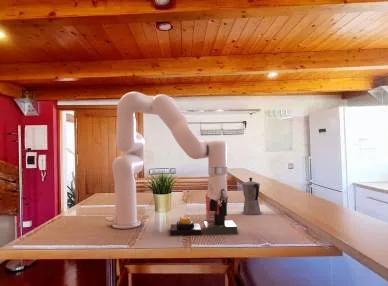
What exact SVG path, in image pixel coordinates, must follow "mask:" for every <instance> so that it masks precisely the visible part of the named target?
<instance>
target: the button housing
mask: <svg viewBox="0 0 388 286" xmlns="http://www.w3.org/2000/svg"><path fill="white" fill-rule="evenodd" d="M169 231H170V232H169V233H170V235H169V236H171V237H175V236H176V237H177V236H179V237H180V236H201V235H202V227H201V225H200V223H195V222H194V221H193V220H190V223H188V224H181V223H180V220H179V221H176V223H172V224H170V228H169Z"/></svg>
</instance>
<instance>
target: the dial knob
mask: <svg viewBox="0 0 388 286" xmlns="http://www.w3.org/2000/svg"><path fill="white" fill-rule="evenodd" d="M225 221H226V216H219V212H217V213H214V224H216V225H224V224H225Z"/></svg>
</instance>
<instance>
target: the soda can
mask: <svg viewBox="0 0 388 286" xmlns="http://www.w3.org/2000/svg"><path fill="white" fill-rule="evenodd" d="M209 199H210V198H209V197H208V191H207V192H206V194H205V214H206V221H214V213H217V212H219V206H220V205H219V201H218V200H216V201H217V211H210V202H211V201H209Z"/></svg>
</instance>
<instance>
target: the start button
mask: <svg viewBox="0 0 388 286" xmlns="http://www.w3.org/2000/svg"><path fill="white" fill-rule="evenodd" d="M179 221H180V223H181V224H188V223H190V221H191V217H188V216H183V217H180V218H179Z"/></svg>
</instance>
